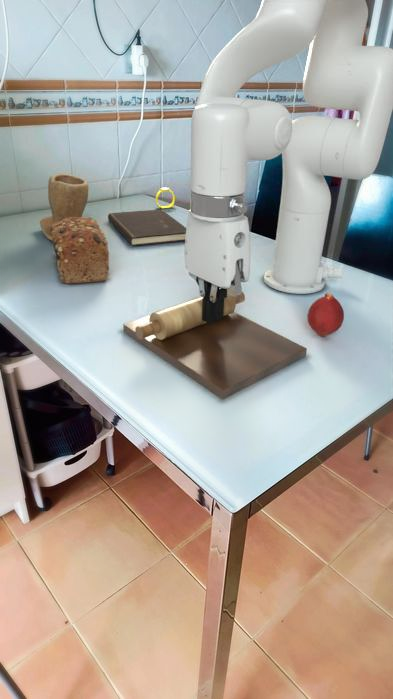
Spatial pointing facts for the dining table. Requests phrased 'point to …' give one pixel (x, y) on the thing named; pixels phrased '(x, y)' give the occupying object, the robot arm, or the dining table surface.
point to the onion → (325, 315)
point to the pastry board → (223, 352)
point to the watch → (165, 191)
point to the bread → (80, 250)
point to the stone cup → (64, 199)
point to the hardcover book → (148, 227)
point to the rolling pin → (181, 318)
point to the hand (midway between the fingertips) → (212, 319)
